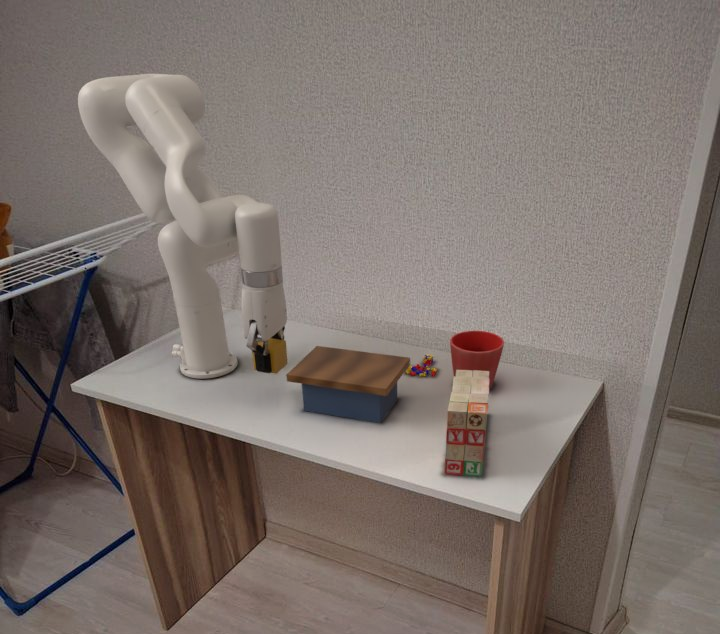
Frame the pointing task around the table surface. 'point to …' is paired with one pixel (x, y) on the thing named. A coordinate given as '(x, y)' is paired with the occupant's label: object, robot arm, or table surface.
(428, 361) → the building blocks
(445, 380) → the table surface
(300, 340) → the table surface
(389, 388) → the wooden board
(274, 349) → the mustard block
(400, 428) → the table surface
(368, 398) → the blue box
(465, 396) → the stack of blocks
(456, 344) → the flower pot
